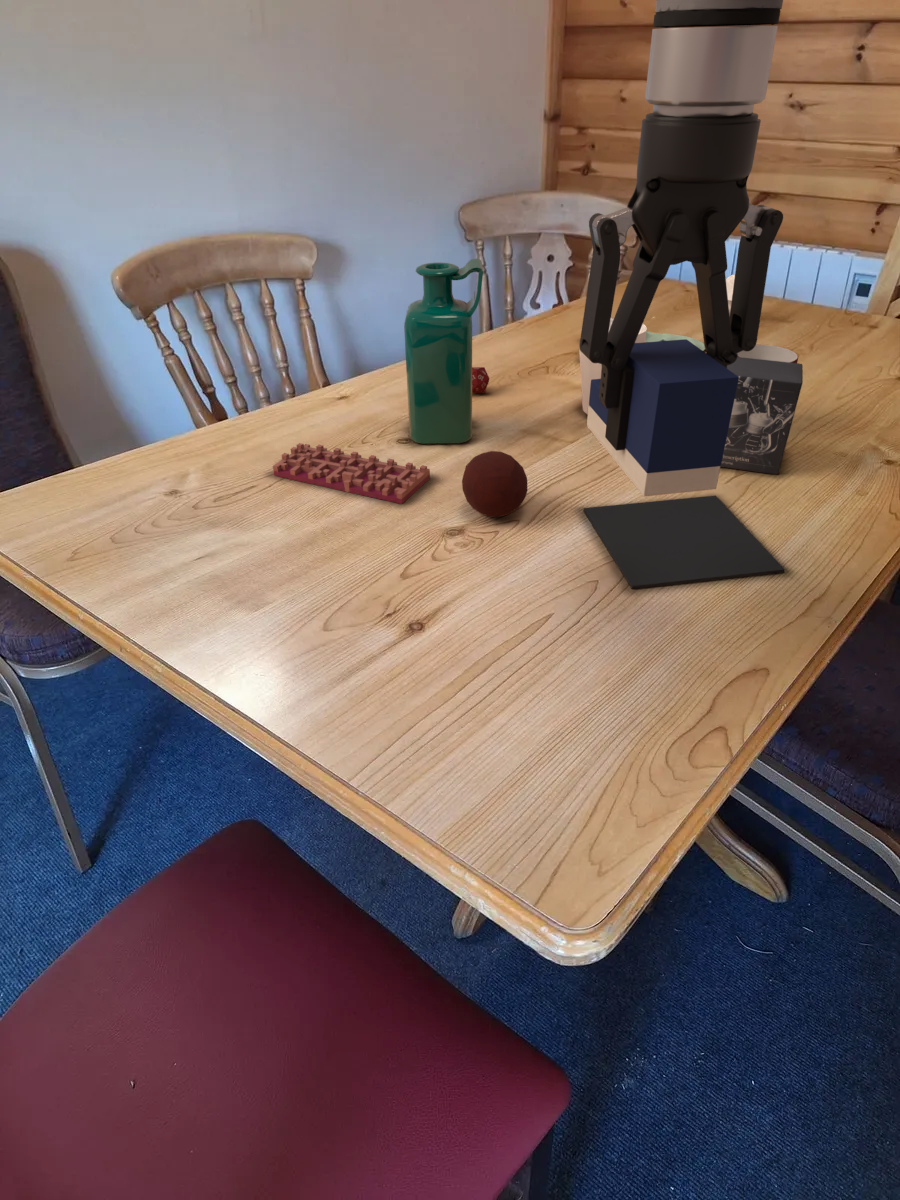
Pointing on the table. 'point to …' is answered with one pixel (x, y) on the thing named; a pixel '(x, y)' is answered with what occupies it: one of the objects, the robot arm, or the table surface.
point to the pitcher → (441, 356)
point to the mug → (770, 353)
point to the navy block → (671, 418)
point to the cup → (597, 369)
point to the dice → (479, 379)
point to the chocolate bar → (352, 473)
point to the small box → (761, 414)
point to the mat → (679, 542)
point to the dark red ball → (494, 484)
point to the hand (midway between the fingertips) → (654, 439)
